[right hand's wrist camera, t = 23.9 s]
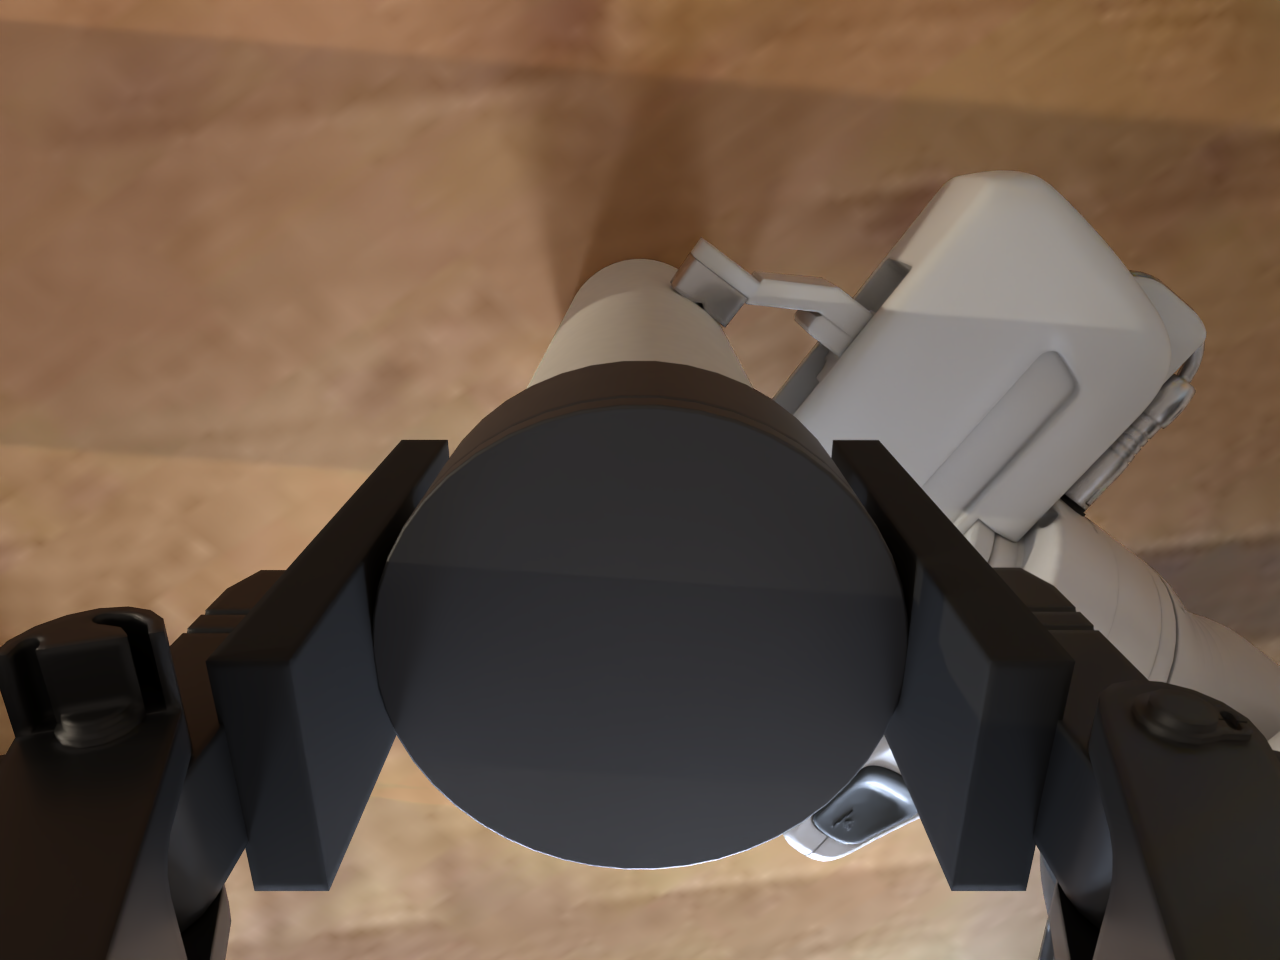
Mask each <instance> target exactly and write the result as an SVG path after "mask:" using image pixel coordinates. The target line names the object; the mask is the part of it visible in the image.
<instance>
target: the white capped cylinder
mask: <svg viewBox="0 0 1280 960" xmlns="http://www.w3.org/2000/svg"><path fill="white" fill-rule="evenodd" d="M677 271H678V269H677V268H675V267H673V266H671V265H668V264H666V263H663V262H659V261H656V260H649V259H631V260H624V261H620V262H617V263H614V264H611V265H609V266H607V267H605V268H603V269H602V270H600V271H598V272H597V273H595V274H594V275H593V276H592V277H590V278H589V279H588V280H587V281H586V282H585V283H584V284H583V285H582V287H581V288H580V289H579V291H578V292H577V294H576V295H575V297H574V299H573V301H572V303H571V305H570V307H569V308H568V310H567V312H566V314H565V316H564V318H563V320H562V322H561V324H560V326H559V328H558V329H557V331H556V333H555V335H554V337H553V339H552V341H551V343H550V345H549V347H548V349H547V350H546V352H545V354H544V356H543V358H542V360H541V362H540V364H539V366H538V368H537V369H536V371H535V373H534V375H533V377H532V379H531V381H530V383H529V385H528V387H527V388H529V387H531V386H532V385H535V384H537V383H539V382H542V381H544V380H547V379H549V378H551V377H554V376H556V375H559V374H561V373H565V372H568V371H572V370H576V369H580V368H583V367H587V366H591V365H597V364H604V363H612V362H619V361H660V362H668V363H676V364H684V365H689V366H693V367H697V368H701V369H705V370H709V371H712V372H716V373H719V374H722V375H724V376H727V377H729V378H731V379H734V380H736V381H739V382H741V383H744V384H746V385H748V386H750V387H751V388H753V387H752V385H751V383H750V381H749V379H748V377H747V375H746V374H745V372H744V370H743V368H742V366H741V364H740V362H739V360H738V358H737V356H736V354H735V352H734V351H733V349H732V347H731V345H730V343H729V341H728V339H727V337H726V335H725V333H724V331H723V330H722V328H721V326H720V324H719V322H717V321H716V320H714V319H713V318H712V317H711V316H710V315H709V314H708V313H707V312H706V311H705V310H704V308H703V306H702V304H701V303H694V302H692V301H690V300H688V299H687V298H685V297H683V296H682V295H681V294H680V293H678V292H677V291H676V290H675V289H674V288H673V287H672V286H671V283H670V281H671V279H672V278H673V276H674V275H675V274H676V272H677Z"/></svg>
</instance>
